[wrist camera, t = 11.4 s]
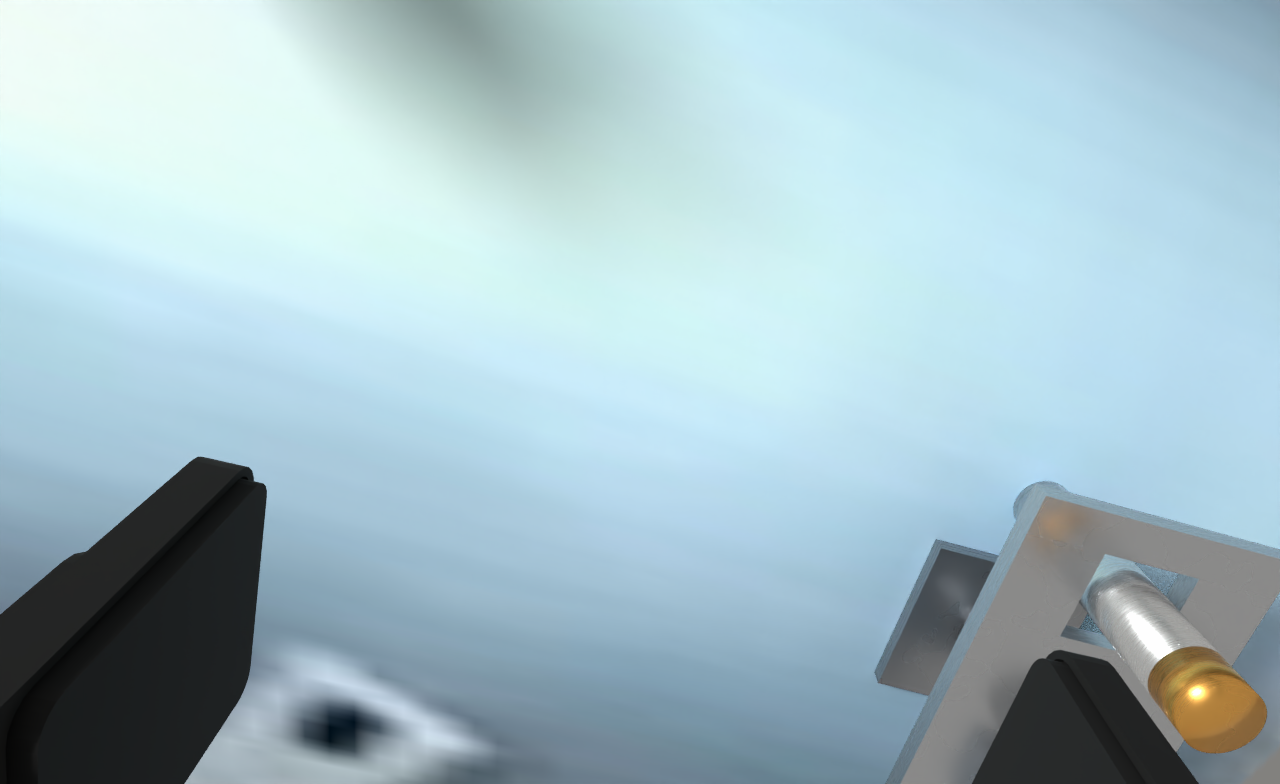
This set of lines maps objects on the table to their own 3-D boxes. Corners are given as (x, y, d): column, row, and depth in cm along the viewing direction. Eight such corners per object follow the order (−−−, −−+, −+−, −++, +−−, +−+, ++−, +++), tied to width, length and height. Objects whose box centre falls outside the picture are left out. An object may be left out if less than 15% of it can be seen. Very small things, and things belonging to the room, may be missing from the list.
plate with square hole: (971, 411, 39) (1083, 538, 28) (1177, 468, 40) (1359, 612, 29) (817, 752, 46) (862, 953, 36) (994, 795, 47) (1088, 1003, 36)
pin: (1027, 475, 40) (1206, 678, 27) (1080, 489, 40) (1282, 698, 27) (1003, 523, 41) (1165, 742, 28) (1055, 537, 41) (1240, 761, 28)
